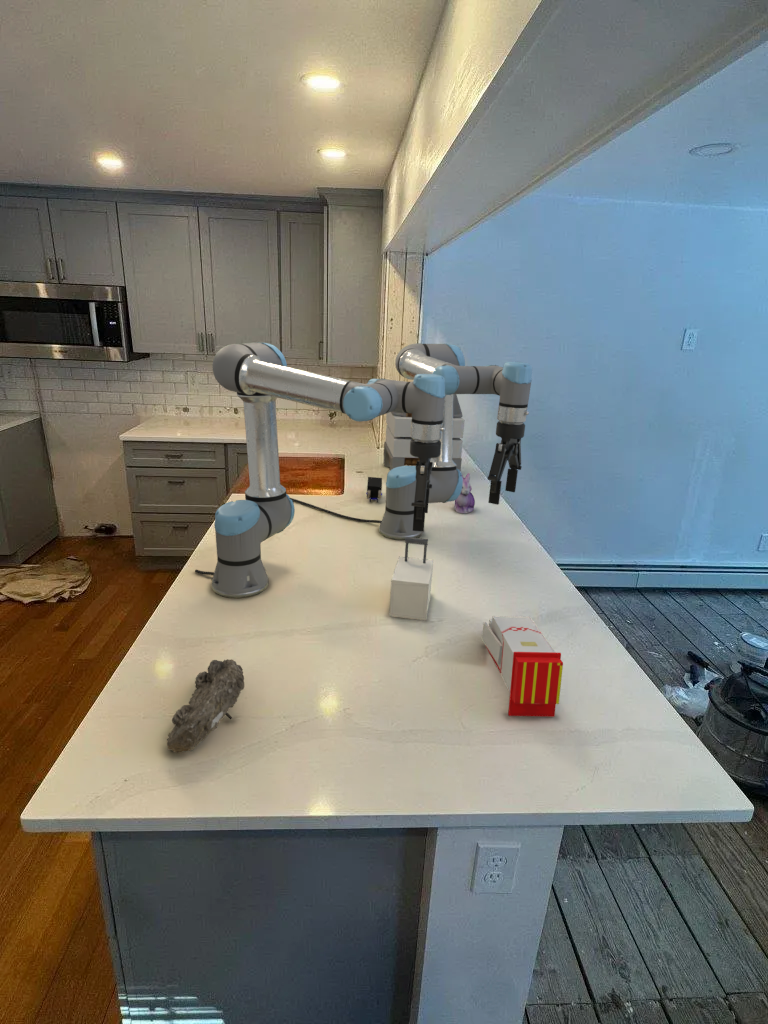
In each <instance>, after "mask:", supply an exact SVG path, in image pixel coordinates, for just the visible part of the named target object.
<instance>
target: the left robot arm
mask: <svg viewBox="0 0 768 1024" xmlns="http://www.w3.org/2000/svg"><path fill="white" fill-rule="evenodd" d="M211 365H212V366H211V367H212V373H213V376H214V378H215V380H216V382H217V383H218V384H219V385H220V386H221V387H222V388H224V389H226V390H228V391H230V392H234V393H236V396H237V397H238V398H239V399H240V400H241V401H242V402H243V413H244V414H243V415H244V429H245V440H246V441H245V442H246V453H247V466H248V479H249V486H248V487H247V488H246V489H245V491H244V497H245V499H237V500H235V501H233V500H231V501H228V502H225V503H224V504H221V506H219V507H218V508H217V509H216V511H215V514H214V525H213V526H214V531H215V545H216V547H215V548H216V557H217V559H216V560H217V562H216V565H215V568H214V571H204V570H199V569H195V570H194V573H197V574H198V575H199V574H200V575H204V576H206V575H207V576H212V579H211V589H212V591H213V592H214V593H215V594H216V595H218V596H221V597H224V598H231V599H242V598H243V599H244V598H249V597H253V596H256V595H258V594H260V593H262V592H264V591H265V590H266V589H267V588H268V587H269V576H268V573H267V570H266V568H265V565H264V562H263V560H262V551H261V549H262V547H261V543H263V542H265V541H267V540H268V539H270V538H271V537H273V536H275V535H277V534H279V533H282V532H283V531H284V530H285V529H287V527H289V526H290V524H291V523H293V520H294V517H295V504H294V501H292V500H291V499H290V498H291V497H290V495H289V494H287V488H286V487H285V486H284V485H282V483H281V474H280V473H281V471H280V456H279V439H278V438H279V437H278V421H277V420H278V419H277V405H276V401H277V399H283V400H287V401H291V402H293V403H299V404H303V405H307V406H311V407H315V408H320V409H323V410H328V411H332V412H336V413H340V414H344V415H346V416H347V417H348V418H350V419H351V420H352V421H354V422H359V423H361V422H369V421H371V420H373V419H375V418H378V417H380V416H383V415H386V413H389V412H402V413H411V414H412V421H411V438H412V440H411V441H410V454H411V455H412V456H414V457H418V458H419V461H417V463H416V490H415V501H414V503H412V504H411V506H414V517H413V531H421V532H422V533H424V532H425V521H426V514H428V512H429V503H428V501H429V489H427V488H432V484H430V474H431V471H432V465H433V462H431V458H437V457H439V456H440V452H441V442H440V441H439V440H440V439H441V436H442V432H441V431H444V430H445V428H444V427H441V426H442V423H443V411H444V401H445V379H444V377H443V376H441V375H435V374H417V375H415V377H414V380H412V381H404V380H396V379H395V380H394V379H386V378H371V379H369V380H368V381H367V383H362V382H358V381H352V380H349V379H344V378H339V377H335V376H331V375H326V374H321V373H318V372H317V373H316V372H312V371H307V370H303V369H299V368H295V367H290V366H288V364H287V361H286V357H285V355H284V354H283V352H282V351H281V350H280V349H279V348H278V347H277V346H276V345H274V344H272V343H269V342H259V341H257V342H256V341H255V342H246V343H245V342H243V343H231V344H228V345H225V346H223V347H221V348H220V349H219V350H218V351H217V352H216V353H215V356H214V357H213V360H212V364H211Z"/></svg>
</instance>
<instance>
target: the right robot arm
mask: <svg viewBox="0 0 768 1024" xmlns="http://www.w3.org/2000/svg"><path fill="white" fill-rule="evenodd" d="M394 361H395V363H394V364H395V365H394V366H395V369H396V371H397V373H398V374H399V375H400V376H401V377H403V378H404V379H407V380H410V381H411V380H412V381H413V380H414V377H415V375H417V374H435V375H441V376H443V377H444V379H445V401H444V411H443V423H442V426H441V427H444V428H445V430H444V431H441V432H442V436H441V439H440V440H439V441H440V442H441V452H440V456H439V457H437V458H431V462H433V465H432V471H431V474H430V484H432V488H427V489H429V501H428V504H439V503H442V504H446V503H449V502H450V503H451V502H455V500H456V499H457V498H458V496H459V495H460V493H461V490H462V485H463V478H462V477H461V476H462V475H463V474H462V471H461V472H460V470H458V469H456V464H455V463H454V462H453V460H452V438H453V394H456V395H495V396H499V402H498V408H497V415H496V420H498V421H497V422H496V428H495V435H496V437H499V438H501V440H500V442H496V444H495V449H494V454H493V458H492V461H491V465H490V469H489V471H488V472H489V473H488V475H487V480H488V481H490V486H489V494H488V504H492V505H497V506H499V504H500V498H501V490H502V482H503V481H502V480H501V479H502V477H503V475H504V471H505V468H506V466H507V463H508V467H509V468H507V473H506V475H507V476H506V480H505V481H506V482H505V492H509V493H516V489H517V481H518V473H519V471H521V470H522V450H521V449H522V448H521V447H522V446H521V445H522V444H521V442H522V438H524V437H525V431H526V424H525V423H526V421H527V416H528V415H529V413H530V412H529V411H528V407H529V399H530V394H531V386H532V381H533V366H532V364H530V363H528V362H521V361H506V362H505V363H504V364H503V366H500V365H497V364H487V365H466V361H465V355H464V353H463V351H462V349H461V348H460V347H459V346H458V345H456V344H450V343H420V342H419V343H418V342H417V343H410V344H408V345H406V346H404V347H402V348H401V349H400V350H399V352H398V353H397V355H396V357H395V360H394ZM385 481H386V482H385V504H384V505H385V507H384V508H385V509H384V513H383V515H382V519H381V520H379V519H365V518H358V517H354V516H353V517H352V516H348V515H344V514H340V513H337V512H335V511H332V510H328V509H325V508H323V507H321V506H320V507H319V506H317V505H314V504H311V503H308V502H305V501H302V500H299V499H296V498H293V497H289V498H290V499H291V500H292V501H293V503H294V502H295V503H298V504H301V505H304V506H306V507H310V508H312V509H315V510H318V511H320V512H324V513H327V514H330V515H333V516H336V517H339V518H342V519H346V520H350V521H354V522H361V523H367V524H369V523H371V524H379V526H378V533H379V534H380V535H381V536H382V537H385V538H387V539H389V540H395V541H405V538H406V537H412V538H421V536H422V535H423V532H421V531H413V517H414V506H411V504H412V503H414V501H415V490H416V466H407V465H404V466H400V467H396V468H393V469H392V470H390V469H389V470H388V472H387V475H386V480H385Z"/></svg>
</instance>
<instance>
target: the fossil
mask: <svg viewBox="0 0 768 1024" xmlns="http://www.w3.org/2000/svg"><path fill="white" fill-rule="evenodd" d="M243 670H244V669H243V667H242V665H240V664H237V662H236V661H235V660H234V659H232V658H231V659H227V658H226V659H224V660H223V661H222V660H217V659H212V660H211V661H210V663H209V665H208V666H207V671H201V672H199V673H198V674H197V675H196V676H195V680H194V684H195V685H194V687H195V689H194V690H193V693H192V694H191V697H190V698H189V700H188V704H184V705H182V706H181V707H180V709H177V710H176V711H175V713H174V715H173V716H172V718H171V723H172V724H173V727H172V730H171V731H170V732H168V734H167V738H166V741H167V742H166V745H167V749H168V750H169V751H173V752H174V753H176V754H178V753H182V752H188V751H189V752H192V751H193V750H195V748H196V747H197V746H199V744H200V743H201V742H203V741H204V740H205V739H206V738H207V737H208V736H209V735H210V734H211V733H212V732H214V730H215V729H217V727H218V726H219V724H220V722H221V721H222V720H223V719H224V718H225V716H226V717H227V719H229V720H233V717H232V715H230V714H229V710H230V709H231V708H234V706H235V704H236V703H237V702H238V699H239V697H240V695H241V693H242V691H243V690H245V689H244V688H245V675H244V671H243Z"/></svg>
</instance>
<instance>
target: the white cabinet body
mask: <svg viewBox="0 0 768 1024" xmlns="http://www.w3.org/2000/svg"><path fill="white" fill-rule="evenodd" d="M433 567H434V565H433V566H432V572H431V577H430V582H429V587H426V586H417V585H408V584H399V583H391V582H390V598H389V614H388V615H389V617H392V618H393V617H394V618H402V619H410V620H418V621H427V617H428V612H429V607H430V600H431V595H432V593H431V592H432V581H433Z"/></svg>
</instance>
